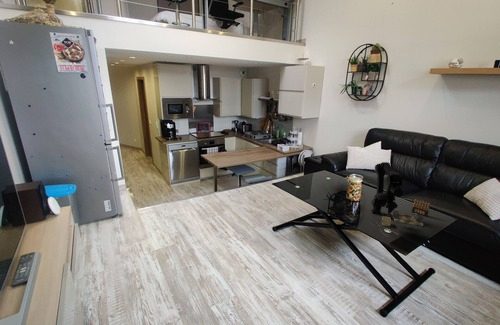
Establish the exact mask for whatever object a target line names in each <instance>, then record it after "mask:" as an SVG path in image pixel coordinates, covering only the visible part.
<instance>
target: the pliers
mask: <svg viewBox="0 0 500 325" xmlns="http://www.w3.org/2000/svg"><path fill="white" fill-rule="evenodd" d="M369 224H371V225H372V226H374V227H376V228H377V229H378V230H380V233H382V234H383V235H384V236H386V237H387V238H390V236H388V235H387V234H385V233H384V232H383V230H386V231H390V232H393V233H394V234H395V235H396V236H399V233H398V232H395V231H393V230H391V229H389V228H385V227H383V225H380V224H379V223H377V222H376V221H372V222H371V221H370V222H369ZM382 229H383V230H382Z"/></svg>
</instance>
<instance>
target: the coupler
mask: <svg viewBox="0 0 500 325" xmlns="http://www.w3.org/2000/svg"><path fill="white" fill-rule="evenodd" d="M391 223H392V219H391V217H390V216H384V215H382V217H381V226H384V227H391Z"/></svg>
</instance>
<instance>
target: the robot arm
mask: <svg viewBox="0 0 500 325" xmlns="http://www.w3.org/2000/svg"><path fill="white" fill-rule="evenodd" d="M374 170H375V174H376V175H377V176H376V178H377V179H376V193H375V195H374V197H373V199H372V200H371V206H372V207H373V208H372V209H371V213H372V214H373V215H374V214H375V215H380V216H381V215H382V207H383V208H385V209H387V214H388V215H390V214H392V212H394V211H395V209H397V208H398V207H399V205H398V203H397V202H396V197H397V198H399V197H402V196H403V195H404V190H403V189H402V187H403V179H402V178H403V177H402V176H401V174H400V173H399V172H398V171H395V170H394V169H393V167H392V166H391V163H390V162H387V161H385V162H384V161H383V162H380V163H376V165H375V166H374ZM386 174H387V176H386V177H387V187H386V188H387V189H386V190H385V192H384V185H385V175H386ZM382 216H383V215H382Z"/></svg>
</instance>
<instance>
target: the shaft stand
mask: <svg viewBox="0 0 500 325" xmlns="http://www.w3.org/2000/svg"><path fill="white" fill-rule="evenodd" d="M391 214H392V218H393V220H394V222H396V223H401V224H406V225H413V226H419V227H423V226H424V223H423V221H424V216H422V215H420V214H415V215H411V214H405V213H402V212H400V211H399V210H393V213H391Z"/></svg>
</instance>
